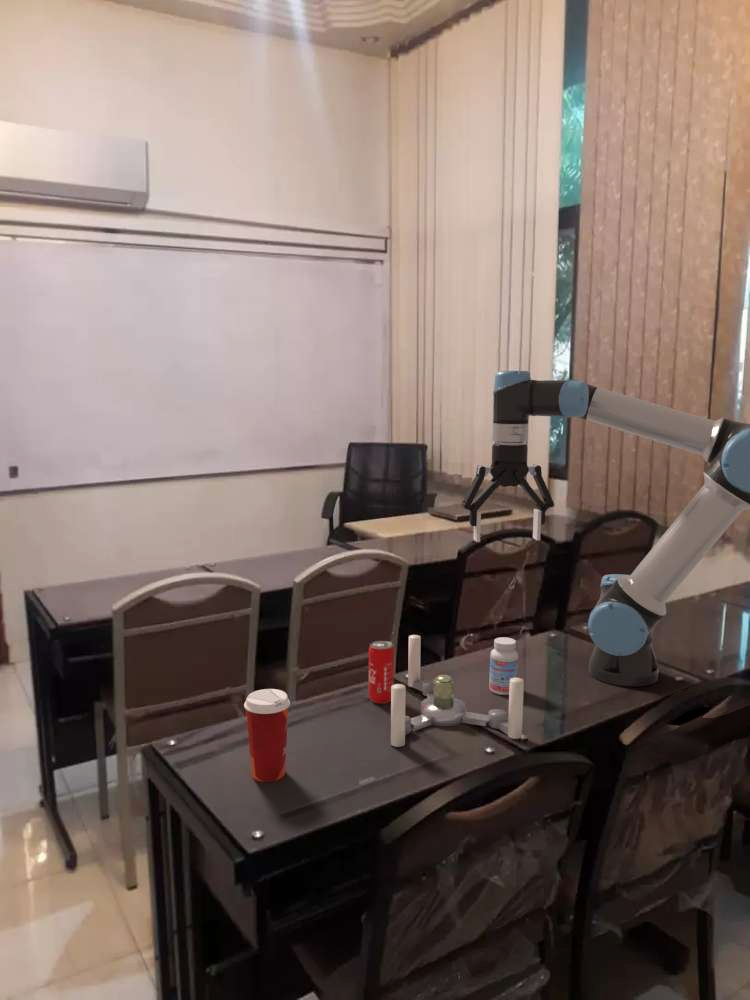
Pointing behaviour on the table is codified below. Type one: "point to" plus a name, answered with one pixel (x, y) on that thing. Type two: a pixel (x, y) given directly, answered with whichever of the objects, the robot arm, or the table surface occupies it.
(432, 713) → the levelling base
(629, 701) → the table surface
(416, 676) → the white lever handle
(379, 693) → the beverage can
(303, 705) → the table surface
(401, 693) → the knob
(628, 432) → the robot arm
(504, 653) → the pill bottle
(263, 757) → the paper cup
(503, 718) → the knob
